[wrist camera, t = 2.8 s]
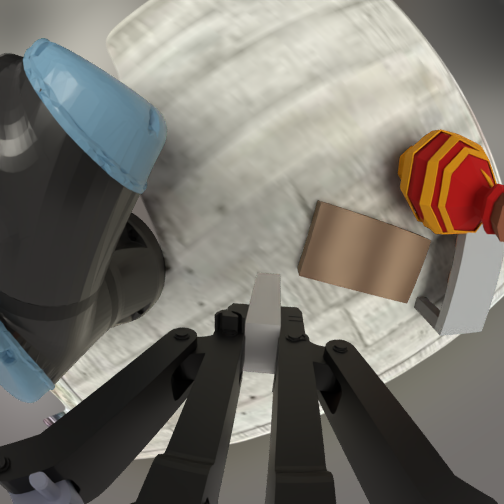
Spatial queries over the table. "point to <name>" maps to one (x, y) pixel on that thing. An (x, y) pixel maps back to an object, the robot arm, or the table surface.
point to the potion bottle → (452, 185)
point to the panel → (362, 253)
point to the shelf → (467, 285)
